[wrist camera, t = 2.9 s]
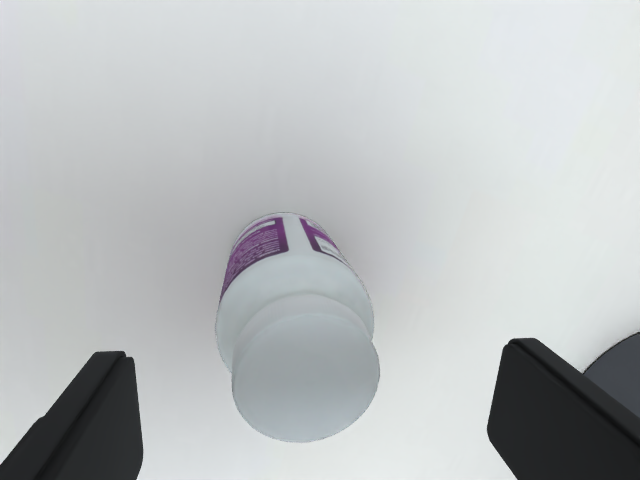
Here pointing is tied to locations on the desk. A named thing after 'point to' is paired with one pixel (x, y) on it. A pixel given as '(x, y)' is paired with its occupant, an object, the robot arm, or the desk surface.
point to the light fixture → (620, 373)
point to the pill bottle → (295, 331)
